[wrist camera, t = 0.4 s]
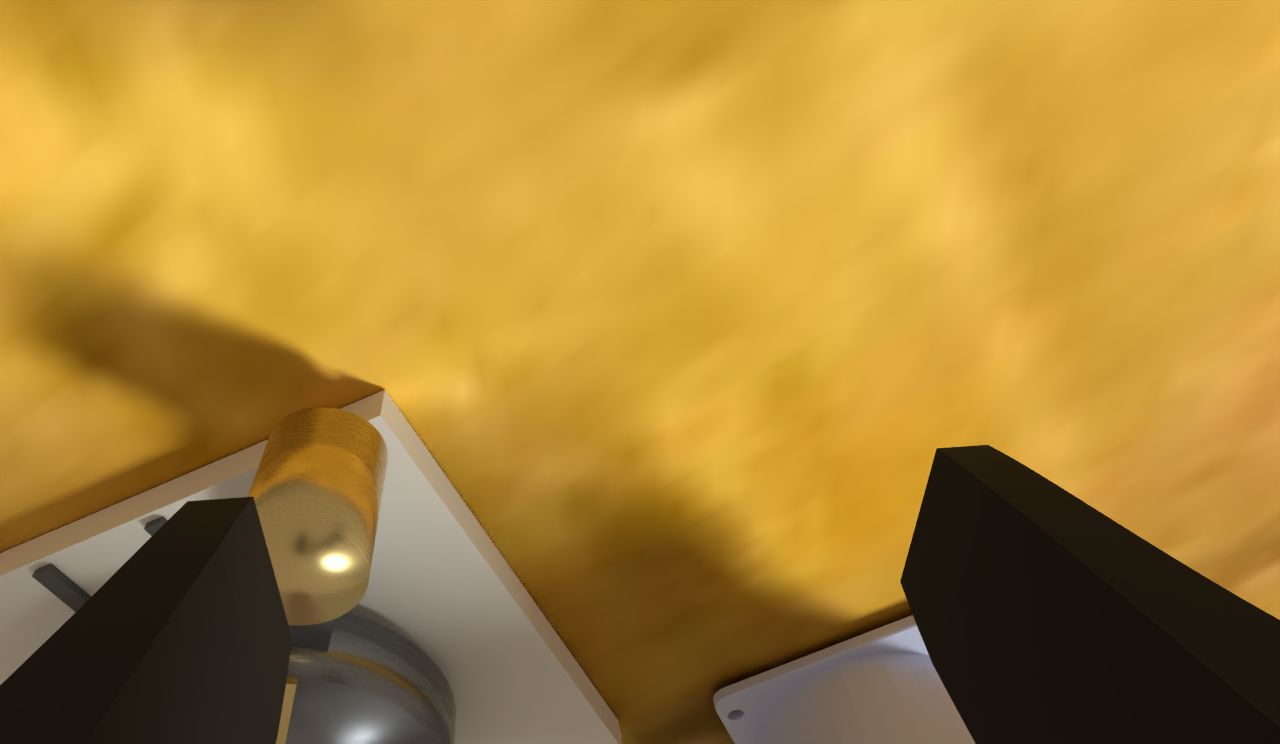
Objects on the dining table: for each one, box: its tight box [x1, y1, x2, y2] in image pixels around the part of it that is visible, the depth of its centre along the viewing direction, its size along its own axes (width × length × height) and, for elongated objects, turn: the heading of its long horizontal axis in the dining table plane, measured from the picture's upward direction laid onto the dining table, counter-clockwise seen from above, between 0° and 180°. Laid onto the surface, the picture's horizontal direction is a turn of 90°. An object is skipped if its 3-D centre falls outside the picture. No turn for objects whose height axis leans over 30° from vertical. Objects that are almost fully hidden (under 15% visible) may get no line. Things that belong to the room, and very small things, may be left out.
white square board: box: [0, 390, 622, 744], centre depth 22 cm, size 14×14×1 cm
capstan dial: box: [248, 407, 456, 744], centre depth 19 cm, size 15×9×4 cm, turn 161°
